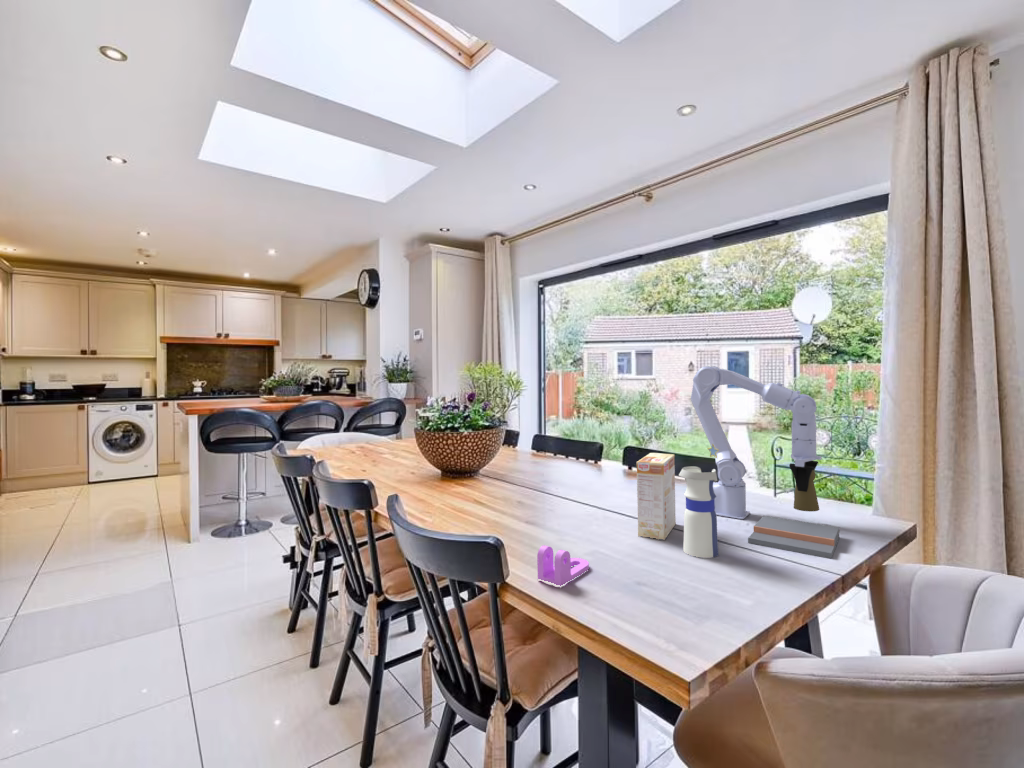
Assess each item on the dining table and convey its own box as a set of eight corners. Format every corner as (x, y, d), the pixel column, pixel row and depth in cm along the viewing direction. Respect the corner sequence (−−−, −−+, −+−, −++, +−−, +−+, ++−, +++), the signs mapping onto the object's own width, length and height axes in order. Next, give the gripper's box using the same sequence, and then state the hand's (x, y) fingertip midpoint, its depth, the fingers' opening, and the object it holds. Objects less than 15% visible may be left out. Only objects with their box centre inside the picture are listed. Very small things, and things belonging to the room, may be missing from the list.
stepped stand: (748, 542, 117) (748, 532, 117) (763, 525, 130) (763, 515, 130) (831, 558, 106) (831, 547, 106) (839, 537, 119) (839, 527, 119)
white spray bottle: (690, 542, 118) (688, 441, 117) (725, 551, 112) (724, 444, 111) (674, 551, 112) (672, 445, 112) (710, 561, 106) (709, 448, 105)
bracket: (560, 589, 94) (560, 554, 94) (537, 582, 97) (537, 548, 97) (593, 567, 104) (593, 536, 104) (571, 562, 107) (571, 531, 107)
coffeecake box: (650, 520, 136) (649, 452, 136) (676, 524, 132) (675, 453, 132) (636, 536, 123) (635, 461, 123) (664, 540, 119) (663, 463, 119)
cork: (812, 505, 133) (810, 465, 133) (823, 511, 127) (821, 469, 127) (789, 505, 133) (787, 466, 133) (799, 511, 127) (797, 470, 127)
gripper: (817, 443, 122) (817, 496, 122) (824, 437, 133) (824, 485, 133) (785, 441, 126) (786, 492, 126) (795, 435, 137) (795, 482, 138)
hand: (804, 489), depth 130 cm, fingers closed on cork, 5 cm apart
